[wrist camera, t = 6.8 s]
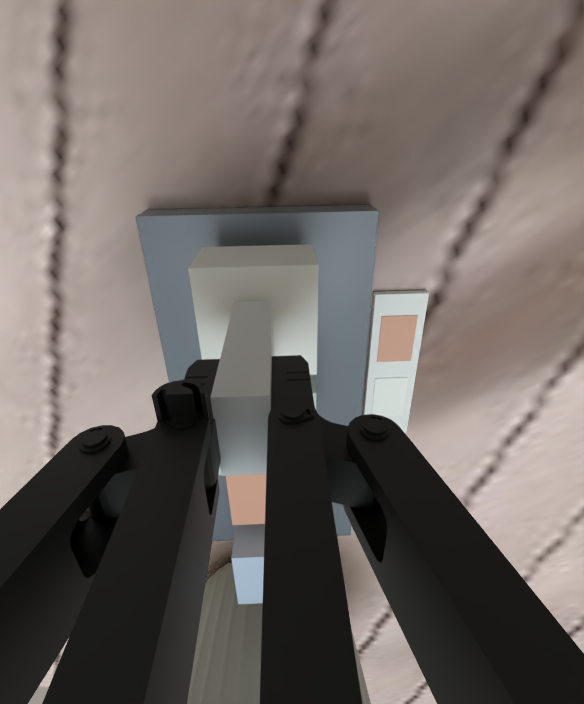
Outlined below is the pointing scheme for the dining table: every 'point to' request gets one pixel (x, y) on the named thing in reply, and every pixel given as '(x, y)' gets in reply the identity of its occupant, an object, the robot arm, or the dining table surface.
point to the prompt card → (394, 353)
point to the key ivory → (258, 295)
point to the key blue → (248, 562)
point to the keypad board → (333, 295)
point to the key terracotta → (247, 498)
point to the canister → (232, 647)
